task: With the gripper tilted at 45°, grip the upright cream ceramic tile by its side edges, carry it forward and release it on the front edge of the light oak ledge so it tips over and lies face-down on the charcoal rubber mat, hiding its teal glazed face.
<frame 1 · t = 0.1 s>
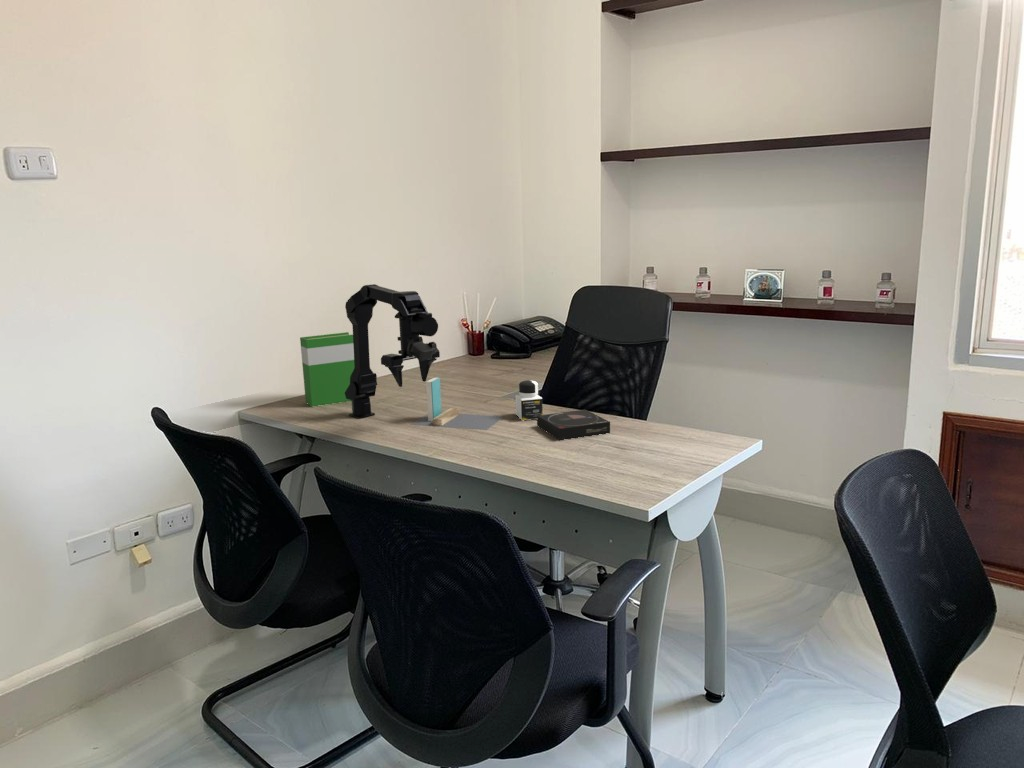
hand: (412, 384, 235), 15 cm above the table, tool pointing down, fingers open, 9 cm apart
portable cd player: (572, 431, 234), on the table
hardback book: (333, 402, 278), on the table
tile: (434, 399, 247), point 7 cm above the table, touching mat
mat: (457, 421, 246), on the table
medicine bottle: (529, 418, 249), on the table
ledge: (446, 419, 247), resting on mat
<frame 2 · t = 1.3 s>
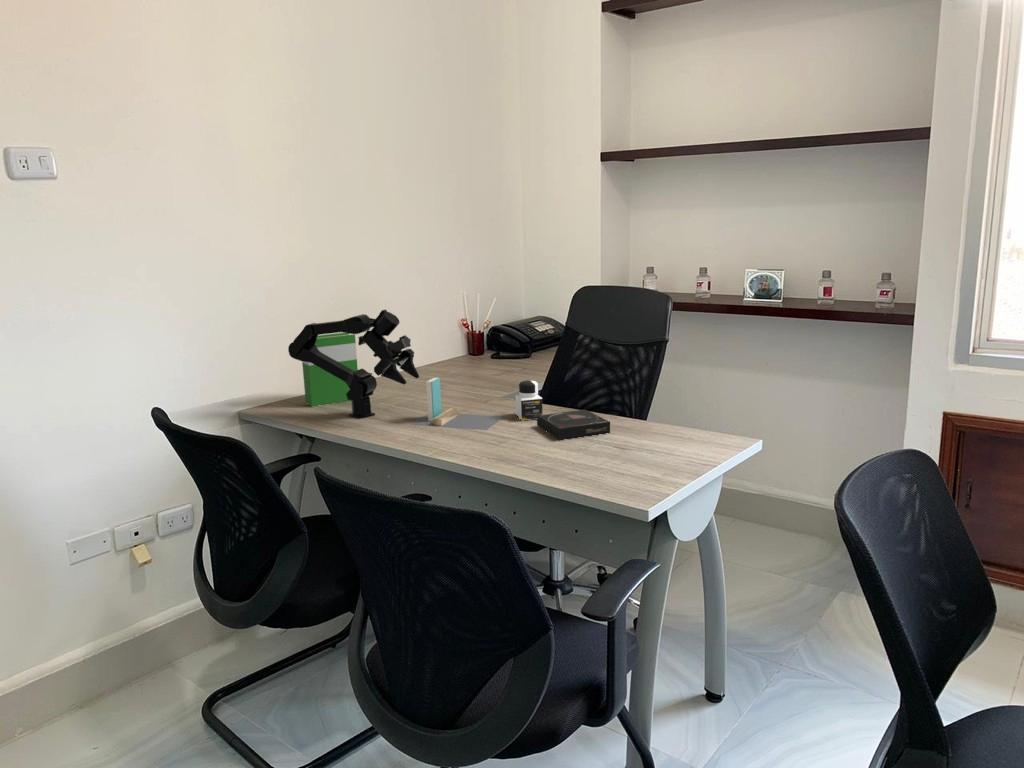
hand: (412, 380, 248), 13 cm above the table, tool tilted 45°, fingers open, 9 cm apart
nothing on the table moved.
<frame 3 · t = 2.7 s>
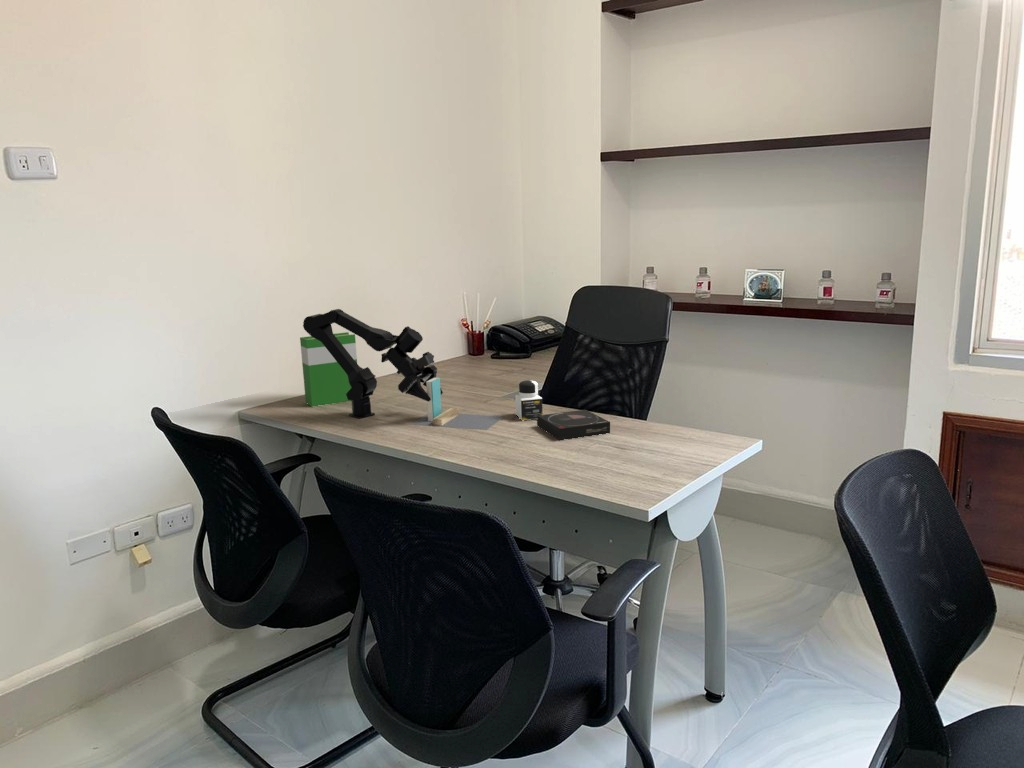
hand: (436, 397, 247), 8 cm above the table, tool tilted 45°, fingers open, 9 cm apart
nothing on the table moved.
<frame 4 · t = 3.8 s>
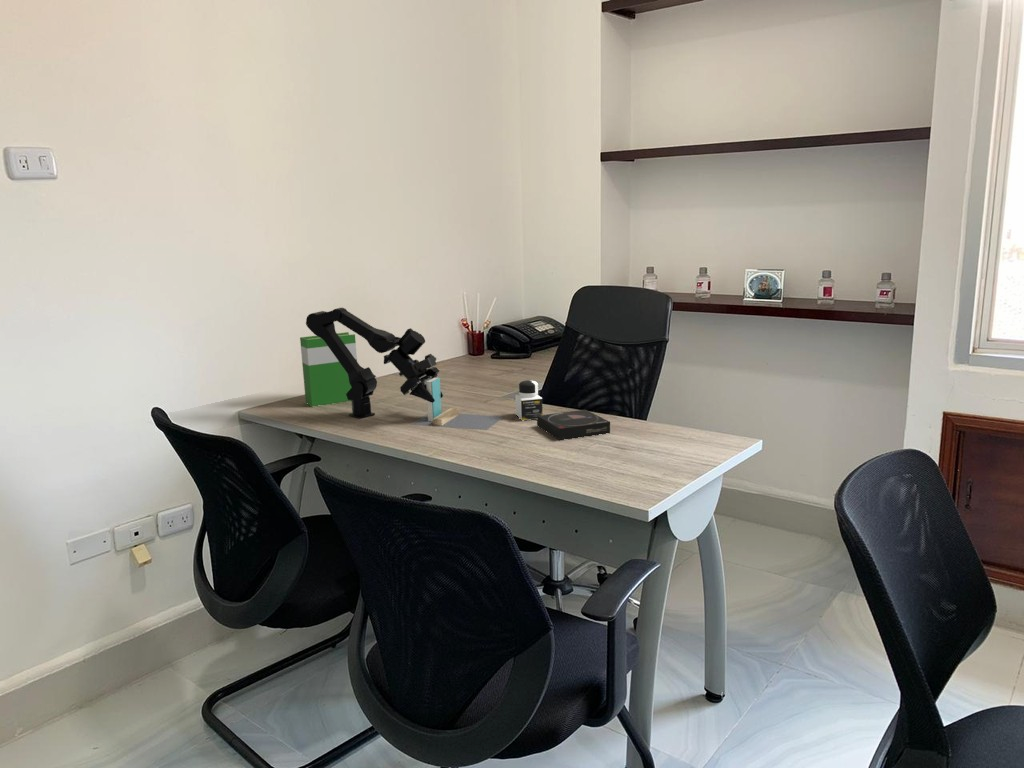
hand: (438, 399, 247), 7 cm above the table, tool tilted 45°, fingers closed on tile, 6 cm apart
tile: (434, 399, 247), point 7 cm above the table, touching gripper, mat
everything else where it was.
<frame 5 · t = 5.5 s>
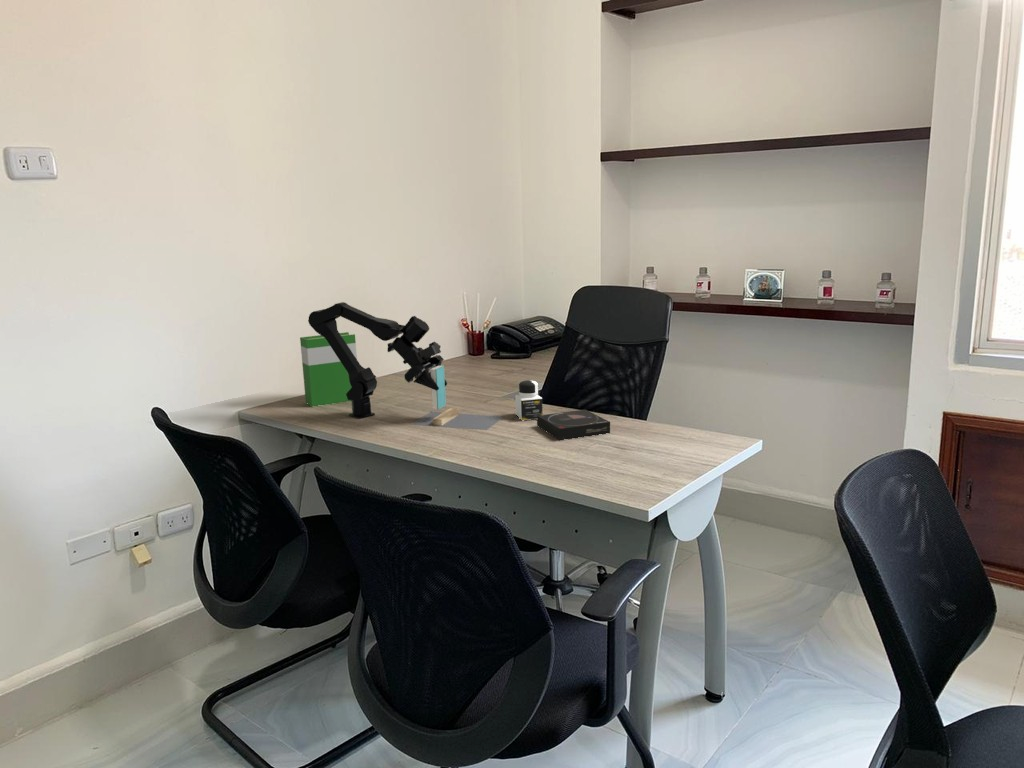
hand: (442, 387, 245), 11 cm above the table, tool tilted 45°, fingers closed on tile, 6 cm apart
tile: (438, 387, 246), point 11 cm above the table, touching gripper
everything else where it was.
when the fingers open (10 cm above the table, at t = 7.1 s): tile drops 8 cm and tips over, resting on mat.
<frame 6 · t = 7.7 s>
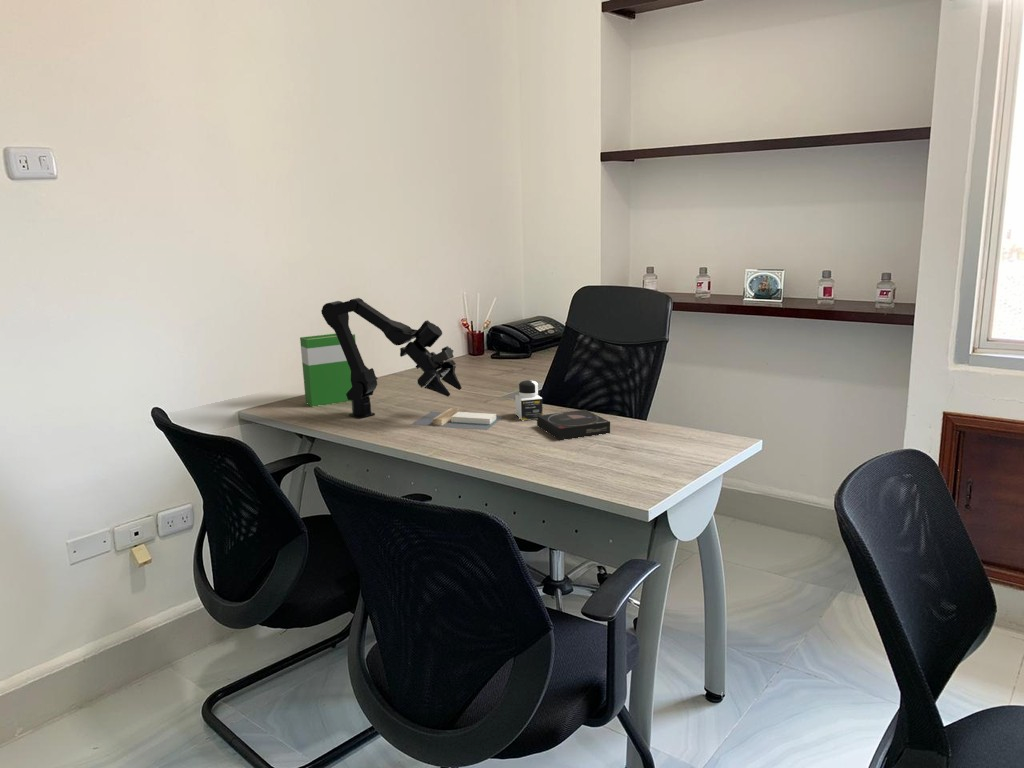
hand: (455, 392, 244), 10 cm above the table, tool tilted 45°, fingers open, 9 cm apart
tile: (473, 418, 244), point 1 cm above the table, tilted 90°, touching mat
everything else where it was.
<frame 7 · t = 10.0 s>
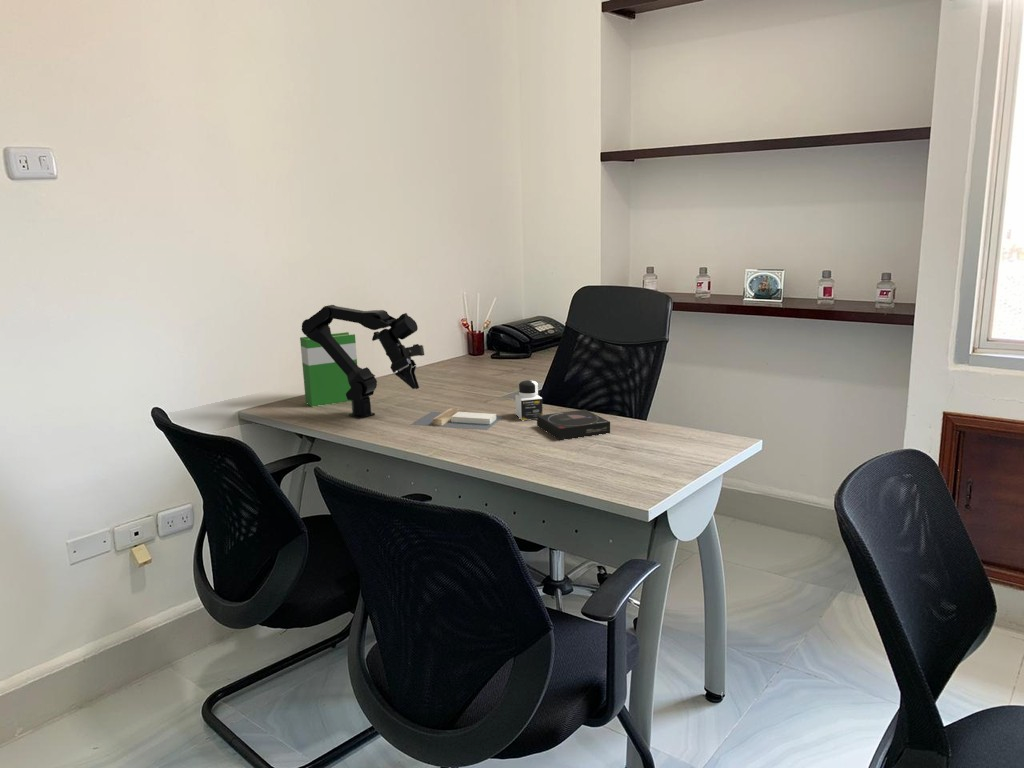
hand: (416, 388, 247), 11 cm above the table, tool tilted 30°, fingers open, 9 cm apart
nothing on the table moved.
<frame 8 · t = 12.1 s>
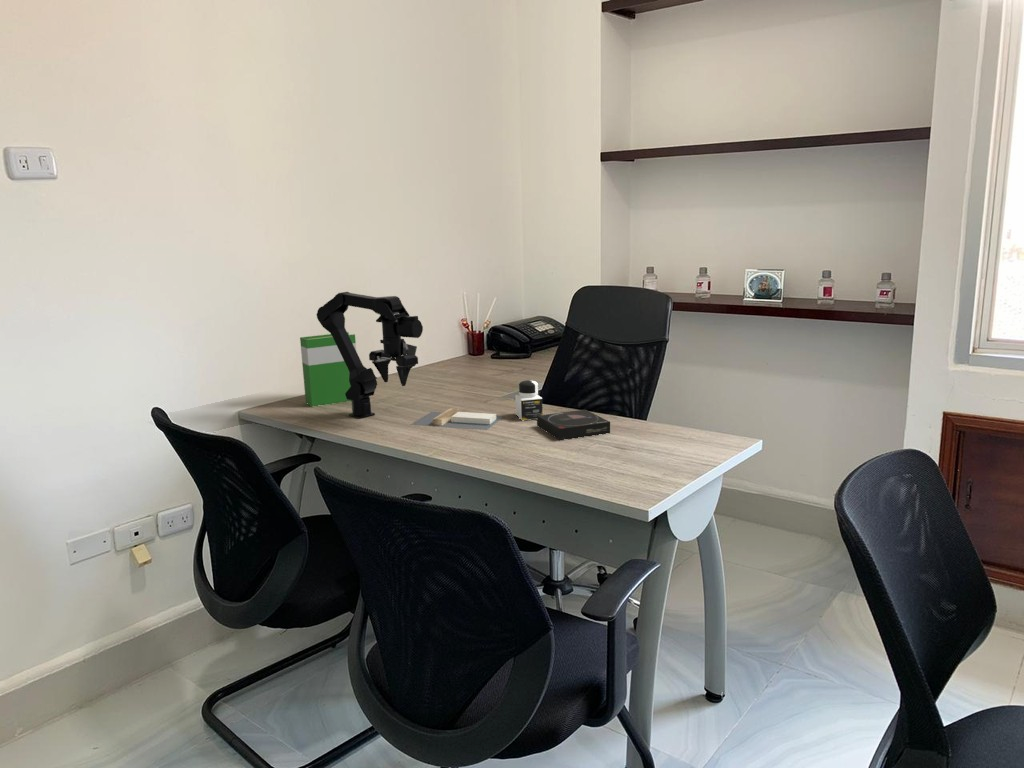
hand: (394, 384, 248), 12 cm above the table, tool pointing down, fingers open, 9 cm apart
nothing on the table moved.
at the end: tile tilted 90°; tile inside the target area on the mat (0.4 cm from its centre), point 1.5 cm above the mat's base; tile touching mat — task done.
